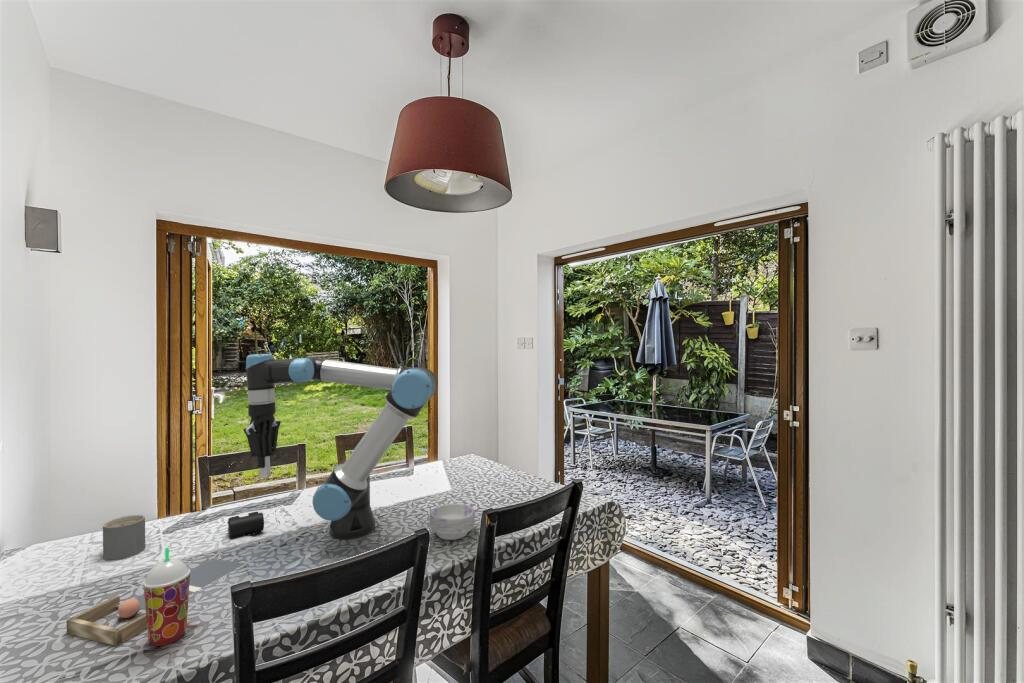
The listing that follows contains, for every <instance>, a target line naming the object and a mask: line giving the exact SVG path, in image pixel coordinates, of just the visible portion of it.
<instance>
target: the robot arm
mask: <svg viewBox="0 0 1024 683" xmlns="http://www.w3.org/2000/svg"><path fill="white" fill-rule="evenodd" d="M245 363H246V364H245V371H246V372H245V373H246V384H247V385H246V386H247V388H246V389H247V391H246V392H247V402H248V403H249V404H248V406H247V409H248V410H247V411H248V413H247V414H248V417H250V422H249V424H250V425H249V426H247V427H245V428H243V432H244V434H245V436H246V439H247V441H248V442H247V443H248V445H249V446H248V447H249V451H250V455H251V457H252V458H257V467H258V469H259V478H262V479H263V478H264V479H268V478H270V477H271V476H272V474H271V465H272V457H271V456H274V454H275V452H277V444H278V438H279V436H278V435H279V430H280V426H281V424H282V422H281V421H280V420H276V419H275V418H276V417H275V416H274V414H276V410H277V407H276V403H275V402H274V401H276V390H275V384H282V383H283V384H287V383H290V384H291V383H298V384H299V383H304V382H305V383H306V382H310V381H311V380H313V381H320V382H321V381H322V382H330V383H336V384H344V385H352V386H360V387H366V388H374V389H380V390H388V392H387V394H386V395H385V397H384V400H385V405H384V407H383V408H382V410H380V412H379V413H378V415H377V417H376V418H375V419H374V420H373V422H372V424H371V425H370V427H369V428H368V429H367V430H366V432H365V434H364V435H362V438H361V439H360V440H359V442H358V443H357V445H356V446H355V447H354V449H353V451H352V452H351V454H350V455H349V456H348V458H347V459H346V460H345V461H344V463H340V464H337V465H334V467H333V470H332V471H331V473H330V474H329V476H328V477H327V478H326V480H325V481H324V483H323V484H321V485H320V486H319V487H318V488H317V489H316V491H315V492H314V494H313V496H312V506H313V510H314V512H315V513H316V514H317V515H318V517H320V518H321V519H322V520H325V521H328V522H329V521H330V524H329V526H328V530H329V531H328V532H329V533H328V535H329V536H330V537H331V538H333V539H339V540H352V539H356V538H357V539H358V538H361V537H363V536H364V537H365V536H367V535H369V534H371V533H372V532H374V530H375V529H376V518H375V516H374V513H373V510H372V507H371V481H370V480H371V473H372V472H373V470H374V469H375V467H376V466H377V465H378V464H379V462H380V461H381V459H382V458H383V456H384V455H385V454H386V452H387V450H388V449H390V446H392V444H393V442H394V441H395V439H396V438H397V437H398V435H399V434H400V432H401V431H402V430H403V428H404V426H405V425H406V423H407V422H408V421H409V420H410V419H414V418H417V417H418V415H419V413H420V412H421V411H422V409H424V407H425V405H426V404H427V402H428V401H429V400H430V399H432V397H433V396H434V395H435V393H436V392H437V390H438V379H437V377H436V376H437V375H435V373H434V372H433V371H431V369H429V368H426V367H422V366H419V367H417V366H416V367H415V366H414V367H411V366H400V367H399V368H395V367H387V366H380V365H379V366H378V365H371V364H365V363H364V364H363V363H359V362H358V363H356V362H348V361H344V360H343V361H341V360H335V359H326V358H320V357H318V356H309V357H300V358H298V357H296V358H287V359H286V358H285V359H276V358H275V359H274V356H273V354H272V353H260V354H258V353H257V354H248V355H247V356H246V360H245Z"/></svg>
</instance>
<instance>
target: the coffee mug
mask: <svg viewBox="0 0 1024 683" xmlns="http://www.w3.org/2000/svg"><path fill="white" fill-rule="evenodd" d="M145 549H146V516H145V515H142V514H130V515H124V516H120V517H115V518H113V519H111V520H108V521H106V522H104V523H103V524H102V558H103V560H105V561H119V560H123V559H127V558H131V557H134V556H136V555H139V554H140V553H142V552H144V551H145Z"/></svg>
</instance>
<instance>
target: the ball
mask: <svg viewBox="0 0 1024 683" xmlns="http://www.w3.org/2000/svg"><path fill="white" fill-rule="evenodd" d="M118 606H119V608H118V609H117V614H118V616H119V617H120V618H123V619H126V618H127V619H128V618H131V617H133V616H135V614H137V613H138V612H139V610H140V609H139V607H140V603H139V601H138V600H137V599H135V598H128V599H126V600H124V601H123V602H121V603H120V604H119V605H118Z"/></svg>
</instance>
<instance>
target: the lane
mask: <svg viewBox="0 0 1024 683" xmlns="http://www.w3.org/2000/svg"><path fill="white" fill-rule="evenodd" d="M243 565H245V563H242V562H238V561H237V562H236V561H230V560H224V559H218V558H214V557H212V558H211V559H209V560H207V561H205V562H203V563H201V564H200V565H197V566H196V567H193V568H192V569H191V568H190V571H191V572H190V583H189V596H191V595H193V594H194V593H196V592H198V591H199V590H202V589H203V588H204V587H206V586H208V585H209V584H212V583H213V582H215V581H217V580H219V579H220V578H222V577H224V576H226V575H227V574H230V573H231V572H233V571H234V570H236V569H238V568H240V567H241V566H243ZM134 599H137V600H138V601H139V603H140V607H139V610H142V611H143V610H144V611H146V607H145V596H144V593H143V594H141V595H139V596H137V597H135V598H134ZM138 613H140V614H142V612H140V611H138ZM144 614H146V612H143V615H144Z"/></svg>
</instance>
